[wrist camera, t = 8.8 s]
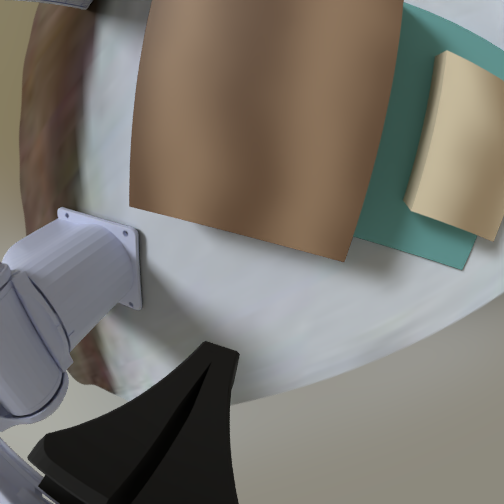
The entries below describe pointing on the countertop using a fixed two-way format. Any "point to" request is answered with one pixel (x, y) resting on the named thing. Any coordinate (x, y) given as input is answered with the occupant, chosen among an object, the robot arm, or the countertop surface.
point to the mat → (417, 139)
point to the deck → (263, 115)
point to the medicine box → (67, 2)
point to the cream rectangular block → (461, 149)
